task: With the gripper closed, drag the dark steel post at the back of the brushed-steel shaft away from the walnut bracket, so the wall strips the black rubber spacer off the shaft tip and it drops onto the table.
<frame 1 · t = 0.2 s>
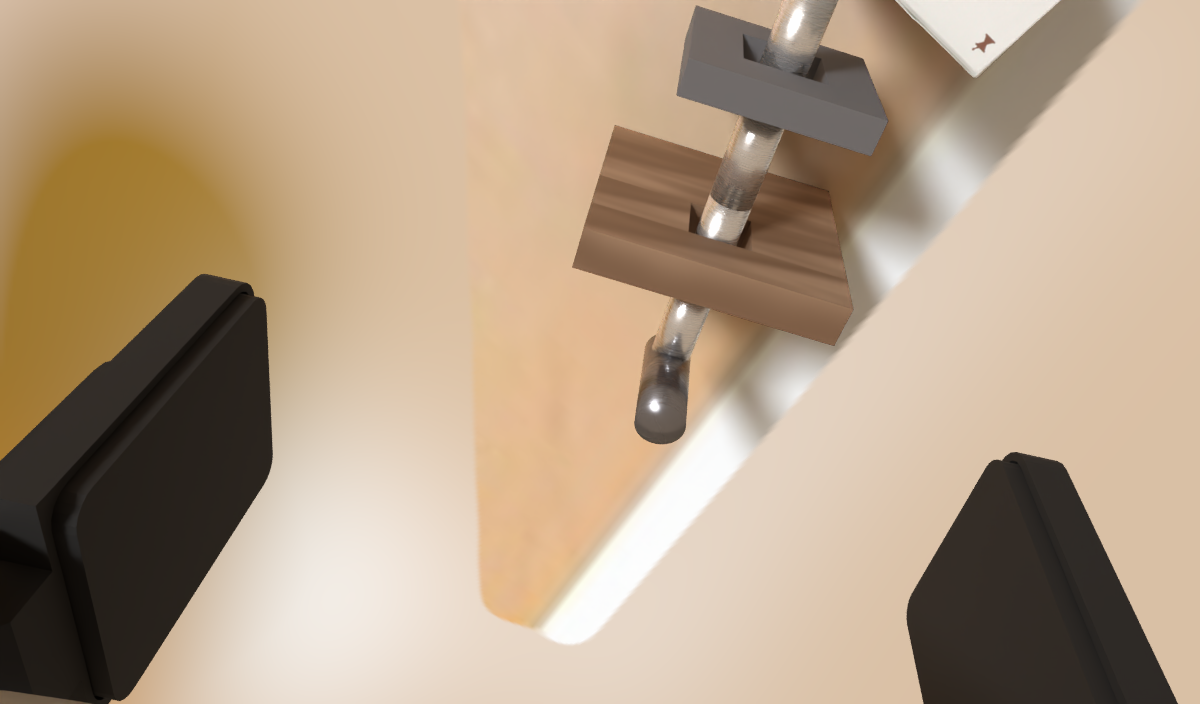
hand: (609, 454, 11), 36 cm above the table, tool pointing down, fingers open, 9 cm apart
spacer: (773, 48, 40), point 3 cm above the table, touching shaft
shaft: (726, 231, 38), point 10 cm above the table, slide at 0.0 cm, touching spacer
bracket: (716, 175, 48), on the table
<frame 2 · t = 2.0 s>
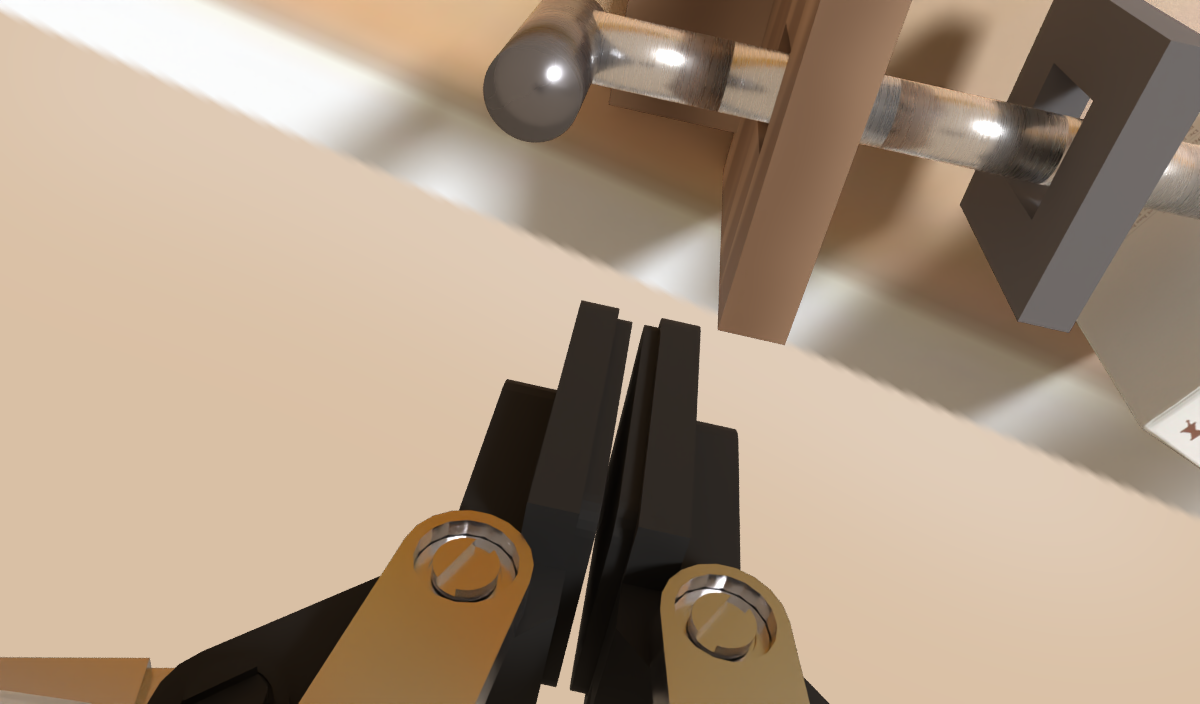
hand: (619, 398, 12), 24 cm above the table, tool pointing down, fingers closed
spacer: (1030, 102, 29), point 3 cm above the table, touching shaft
shaft: (876, 132, 24), point 10 cm above the table, slide at 0.0 cm, touching spacer
supplement box: (1159, 216, 35), on the table
bracket: (792, 26, 32), on the table
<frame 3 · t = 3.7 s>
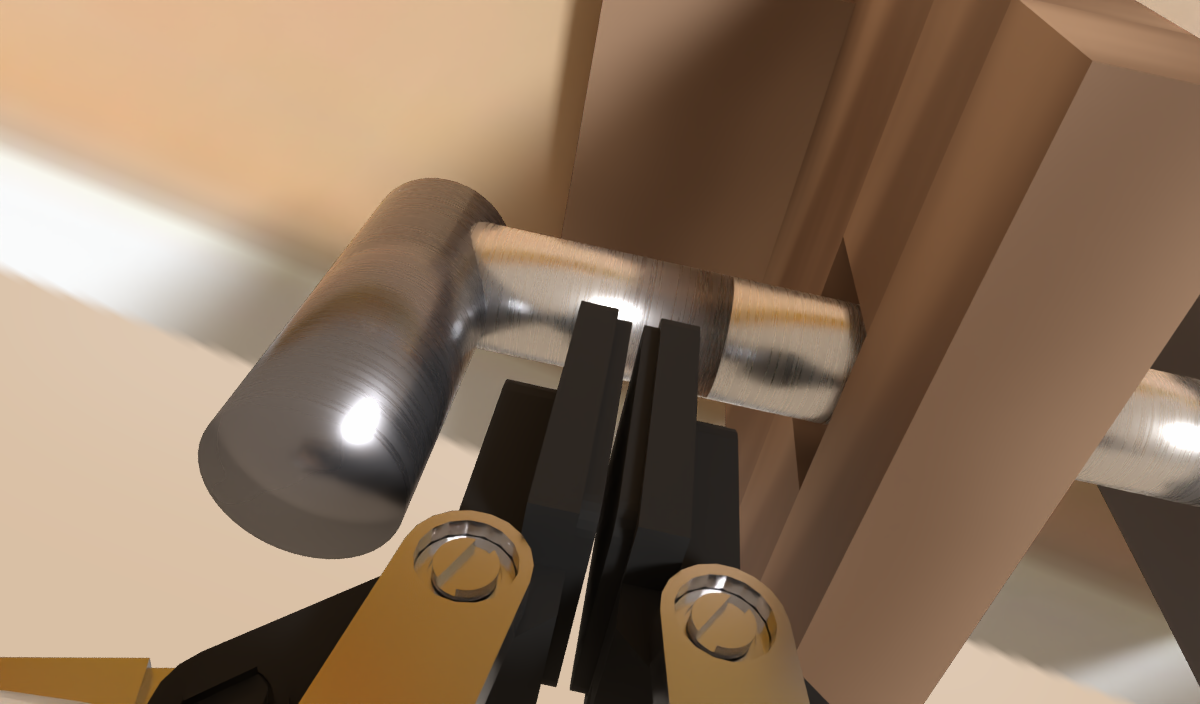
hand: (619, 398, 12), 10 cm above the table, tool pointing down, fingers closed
shaft: (1005, 477, 13), point 10 cm above the table, slide at 0.3 cm, touching gripper, spacer
bracket: (833, 178, 21), on the table
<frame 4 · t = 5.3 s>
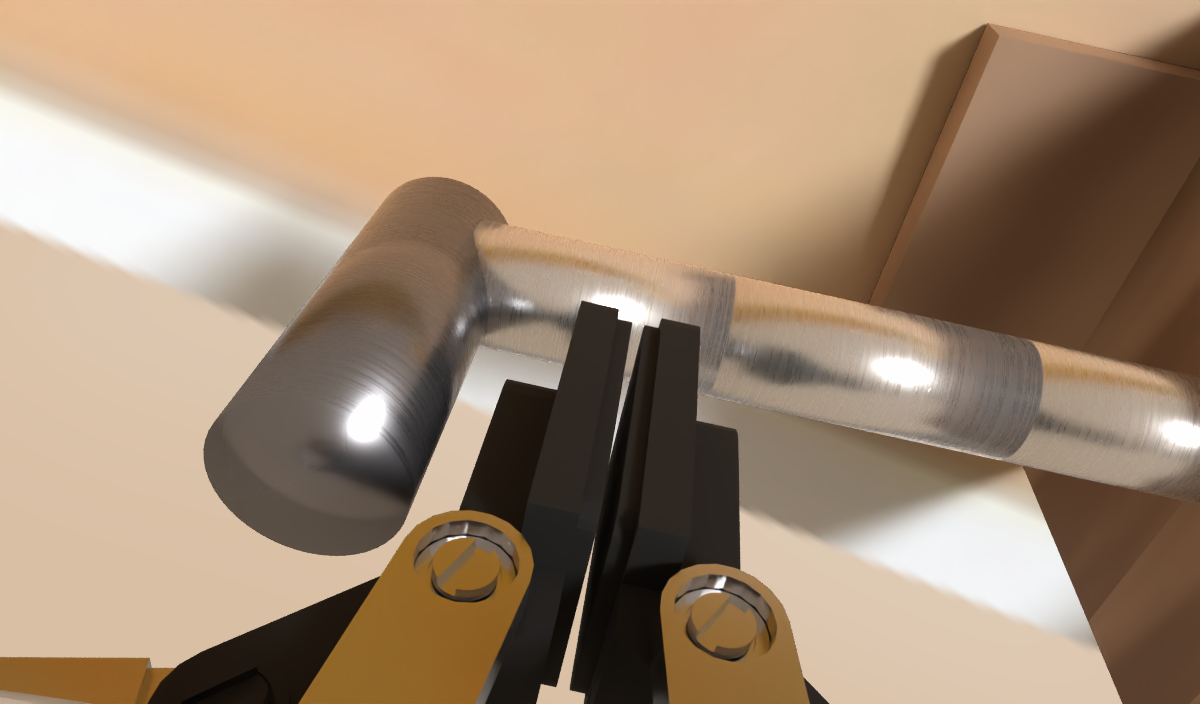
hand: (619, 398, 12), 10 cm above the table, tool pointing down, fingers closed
shaft: (1005, 474, 13), point 10 cm above the table, slide at 8.3 cm, touching gripper, spacer
bracket: (1161, 249, 21), on the table
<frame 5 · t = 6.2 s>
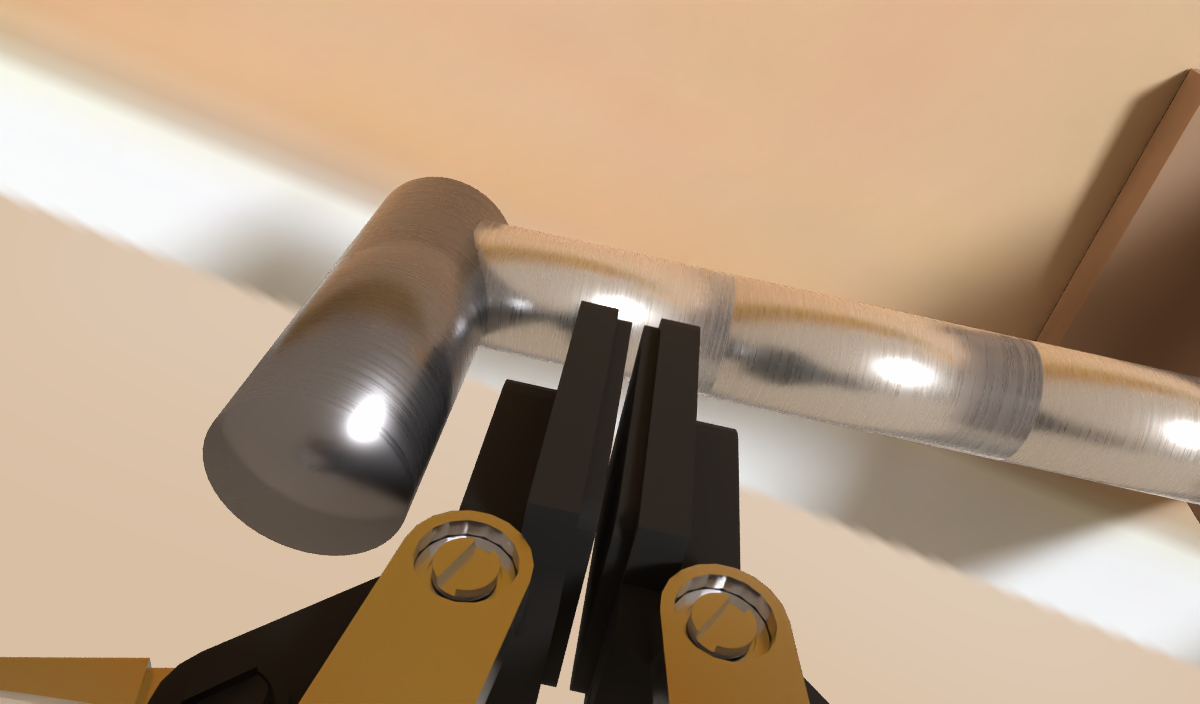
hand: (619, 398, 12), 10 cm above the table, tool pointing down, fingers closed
shaft: (1005, 474, 13), point 10 cm above the table, slide at 12.7 cm, touching gripper
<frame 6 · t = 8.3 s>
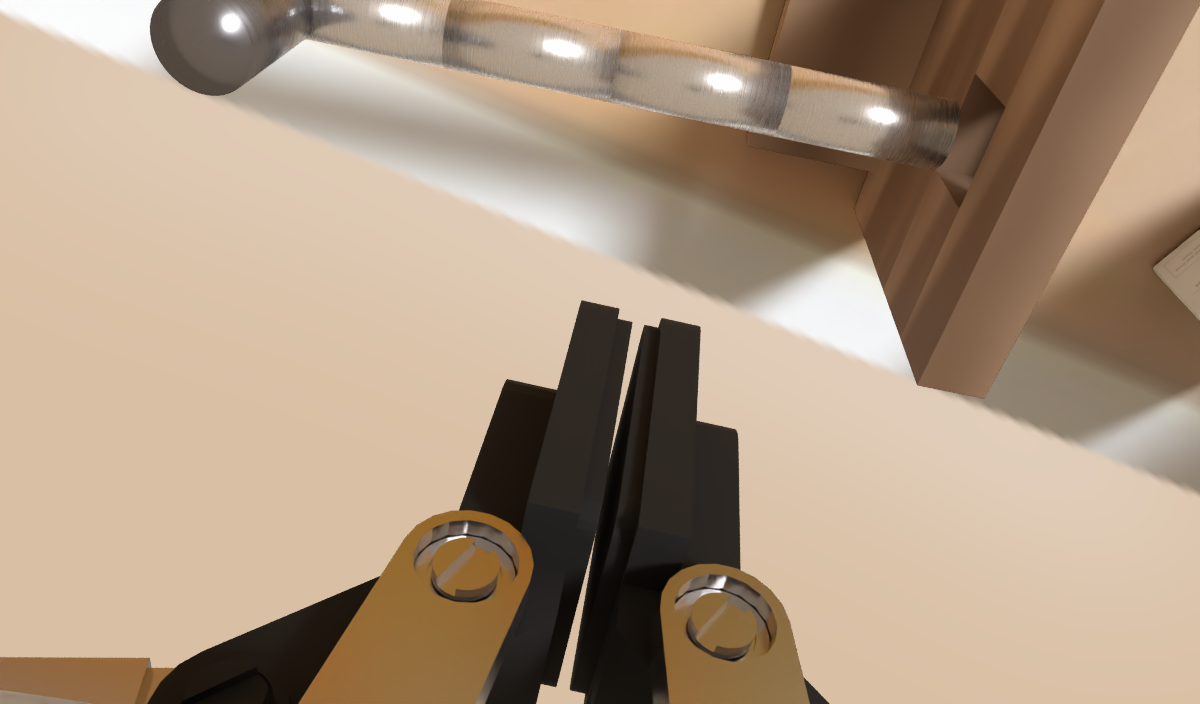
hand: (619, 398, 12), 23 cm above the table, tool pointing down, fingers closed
shaft: (589, 84, 23), point 10 cm above the table, slide at 13.7 cm
bracket: (937, 66, 32), on the table
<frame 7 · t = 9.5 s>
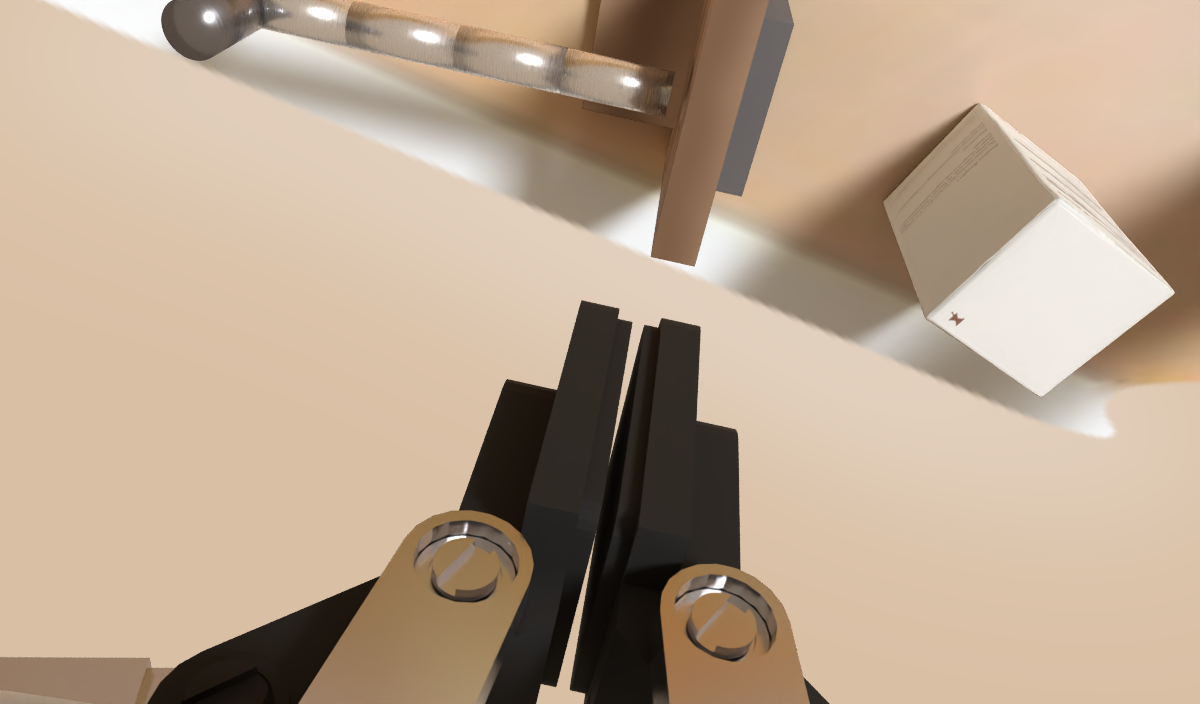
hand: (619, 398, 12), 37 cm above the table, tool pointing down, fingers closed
spacer: (746, 60, 46), on the table
shaft: (433, 57, 37), point 10 cm above the table, slide at 13.7 cm
supplement box: (977, 187, 48), on the table
bracket: (710, 53, 46), on the table
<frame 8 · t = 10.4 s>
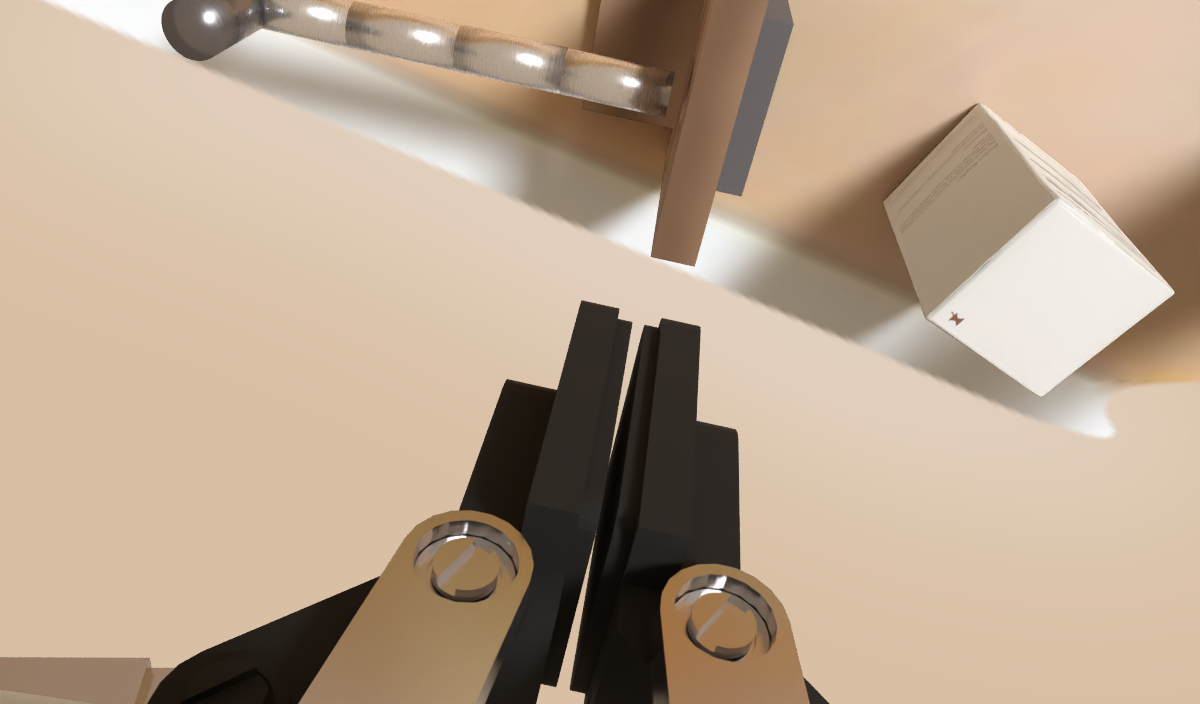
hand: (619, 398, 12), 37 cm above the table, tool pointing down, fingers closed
spacer: (746, 60, 46), on the table
shaft: (433, 57, 37), point 10 cm above the table, slide at 13.7 cm
supplement box: (977, 187, 48), on the table
bracket: (710, 53, 46), on the table
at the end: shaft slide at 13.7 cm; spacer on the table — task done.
